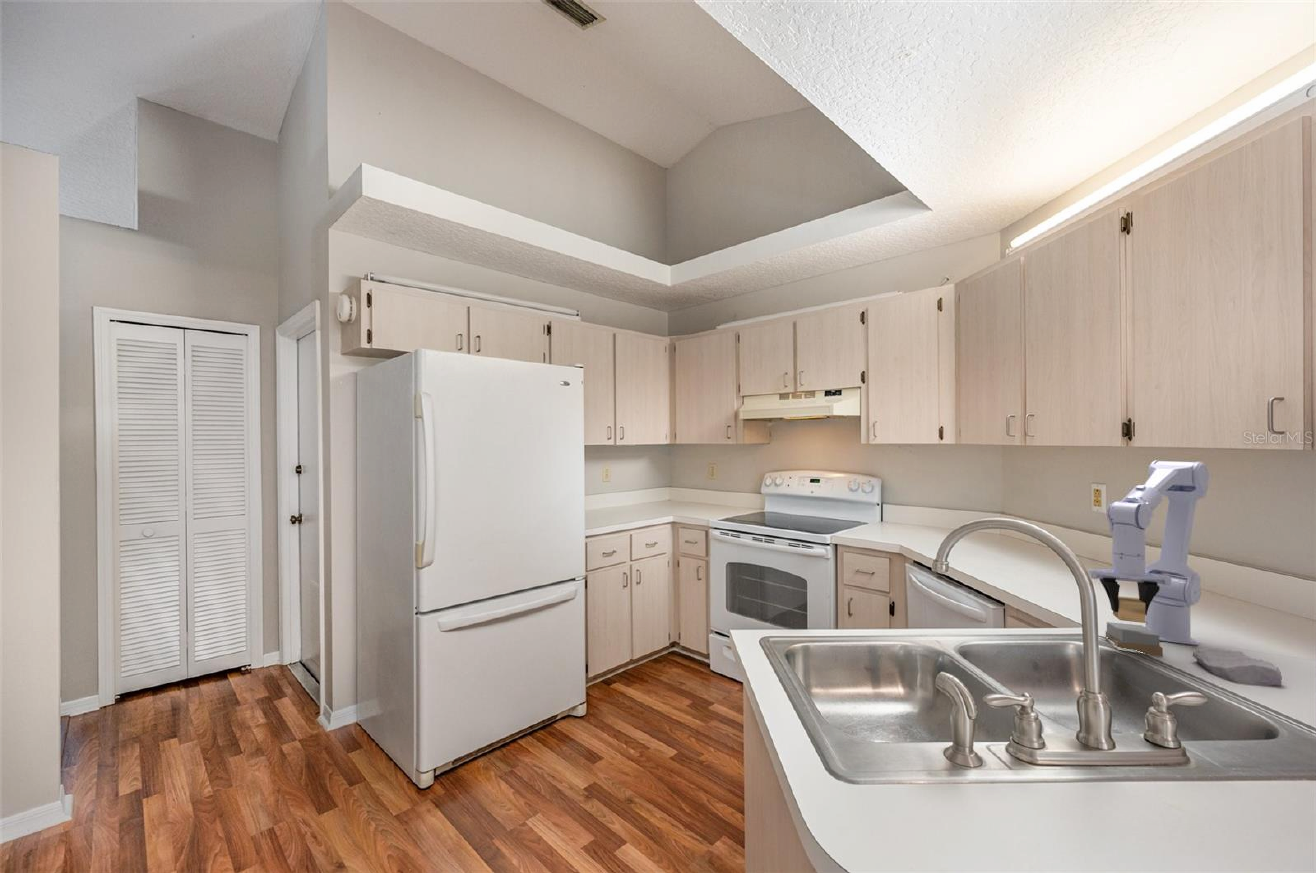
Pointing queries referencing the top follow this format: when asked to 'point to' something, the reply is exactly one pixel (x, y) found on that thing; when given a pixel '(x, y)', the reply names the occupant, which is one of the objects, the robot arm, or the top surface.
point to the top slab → (1133, 634)
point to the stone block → (1238, 667)
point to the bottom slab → (1138, 646)
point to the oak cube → (1130, 609)
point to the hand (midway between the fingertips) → (1128, 612)
